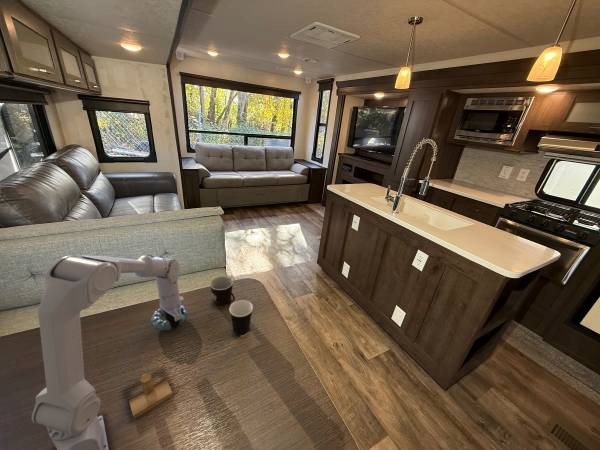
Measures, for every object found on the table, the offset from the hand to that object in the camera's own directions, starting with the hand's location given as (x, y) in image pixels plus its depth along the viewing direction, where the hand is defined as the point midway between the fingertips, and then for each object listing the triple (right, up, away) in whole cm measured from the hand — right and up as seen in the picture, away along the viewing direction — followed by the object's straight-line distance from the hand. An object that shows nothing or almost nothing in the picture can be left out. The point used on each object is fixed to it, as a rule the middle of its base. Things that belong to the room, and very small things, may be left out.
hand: (173, 323), depth 84 cm
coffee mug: (+12, +1, +15) cm, 20 cm away
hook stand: (+2, -12, -17) cm, 21 cm away
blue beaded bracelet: (-3, +1, +3) cm, 4 cm away
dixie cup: (+22, -5, +4) cm, 23 cm away
